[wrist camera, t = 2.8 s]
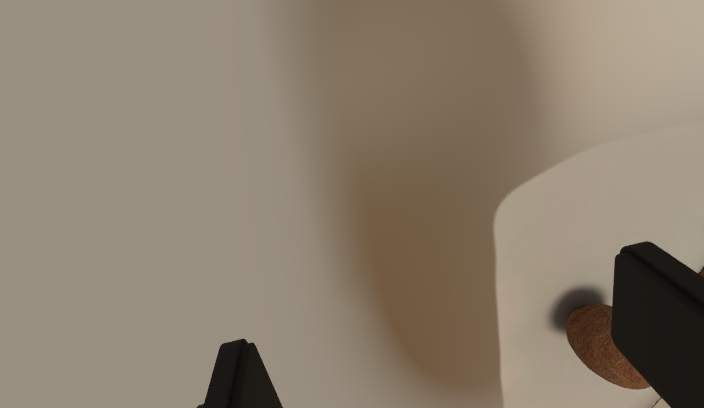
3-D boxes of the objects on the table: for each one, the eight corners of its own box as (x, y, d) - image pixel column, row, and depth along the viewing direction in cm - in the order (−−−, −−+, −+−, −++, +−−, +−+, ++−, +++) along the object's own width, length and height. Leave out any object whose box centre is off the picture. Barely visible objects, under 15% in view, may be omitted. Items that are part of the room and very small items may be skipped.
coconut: (576, 341, 39) (637, 417, 31) (540, 318, 37) (595, 392, 30) (620, 302, 37) (695, 373, 30) (584, 277, 35) (654, 345, 28)
